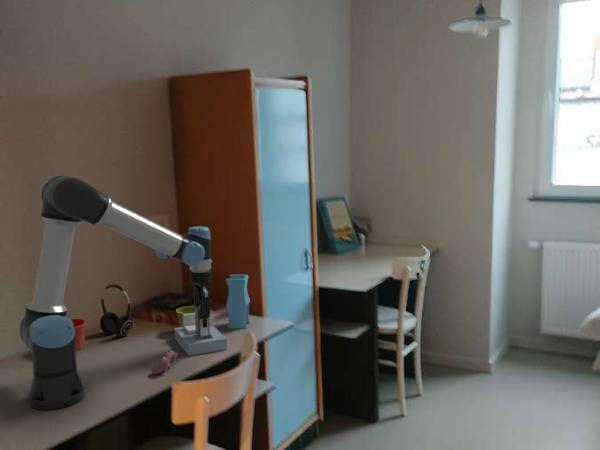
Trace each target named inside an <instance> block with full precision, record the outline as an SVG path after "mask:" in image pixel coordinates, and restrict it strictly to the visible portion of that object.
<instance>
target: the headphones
mask: <svg viewBox="0 0 600 450" xmlns="http://www.w3.org/2000/svg"><path fill="white" fill-rule="evenodd" d="M109 288H115V289H118V290H120V291H121V292H122V293H123V294H124V295H125V298H126V299H127V310H126V314H124V315H122V316H120V317H119V316H118V314H117V313H115V312H112V311H107V307H106V306H105V301H104V295H105V294H104V293H105V292H106V290H107V289H109ZM126 292H127V291H125V289H124V288H123V287H122V286H120V285H119V284H116V283H115V284H114V283H113V284H109V285H107V286H106V287H105V288H104V290H103V291H102V293H101V297H100V303H101V308H102V312H103V314H102V315H101V318H100V320H99V325H100V329H101V330H102V332H104V333H105V334H106V335H116V337H121V338H122V337H125V336H126V335H129V334H130V332H131V331H132V329H133V326H134V319H133V317H132V316H131V315H130V314H131V302H130V298H129V295H128V294H127V293H126Z"/></svg>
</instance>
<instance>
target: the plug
mask: <svg viewBox="0 0 600 450" xmlns="http://www.w3.org/2000/svg"><path fill="white" fill-rule="evenodd" d="M199 317H201V313H200V305H199V306H197V307H195V327H196V334H197V335H198V337H201V334H200V319H199ZM209 323H210V318H208V335H210V332H209ZM208 335H207V336H208Z"/></svg>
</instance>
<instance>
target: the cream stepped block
mask: <svg viewBox="0 0 600 450" xmlns="http://www.w3.org/2000/svg"><path fill="white" fill-rule="evenodd" d="M183 328H184V329H185V330H186V331H187V332H188V334H192V333H196V327H195V313H189V314H183ZM209 331H210V327H209Z"/></svg>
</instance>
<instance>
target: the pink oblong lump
mask: <svg viewBox="0 0 600 450" xmlns="http://www.w3.org/2000/svg"><path fill="white" fill-rule="evenodd" d="M178 354H179V353H178V352H176V351H173V350H172V349H171V350H170V351H168V352H165V353H164V355H163V357H162V358H160V361H159V362H158V363H157V364H156V365H154V366H153V367H152V369H151V373H152V375H159V374H160V373H162V372H164V373H165V372H167V370H168V369H169V368H171V367H172V366H173V363H174V362H175V360H176V359H177V356H178Z"/></svg>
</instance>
